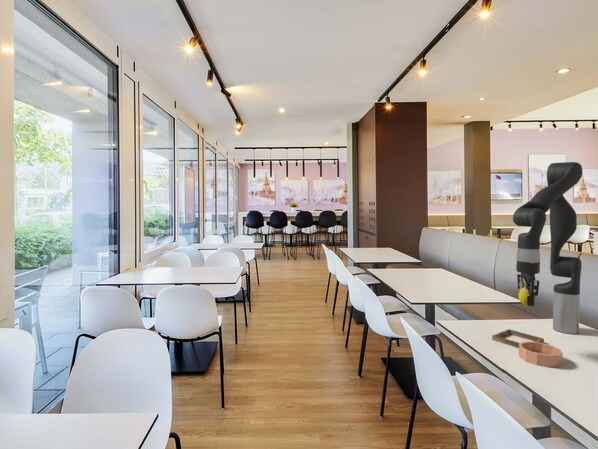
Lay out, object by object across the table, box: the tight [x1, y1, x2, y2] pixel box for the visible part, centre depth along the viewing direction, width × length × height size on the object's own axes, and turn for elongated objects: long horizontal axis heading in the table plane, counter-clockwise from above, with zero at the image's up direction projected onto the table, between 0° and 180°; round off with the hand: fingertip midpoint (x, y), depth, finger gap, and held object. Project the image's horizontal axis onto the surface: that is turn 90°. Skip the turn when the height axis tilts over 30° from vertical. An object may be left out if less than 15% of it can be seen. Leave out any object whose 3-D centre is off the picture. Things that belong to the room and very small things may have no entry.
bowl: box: [518, 341, 564, 368], centre depth 124 cm, size 13×13×4 cm
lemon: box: [518, 287, 537, 308], centre depth 132 cm, size 6×6×8 cm
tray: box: [491, 328, 545, 349], centre depth 141 cm, size 14×14×2 cm
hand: (527, 303), depth 132 cm, fingers closed on lemon, 5 cm apart
